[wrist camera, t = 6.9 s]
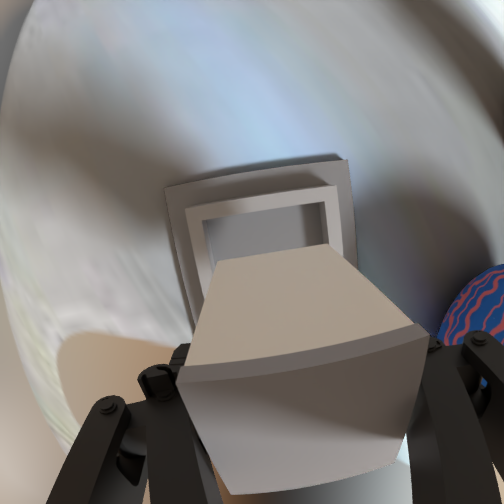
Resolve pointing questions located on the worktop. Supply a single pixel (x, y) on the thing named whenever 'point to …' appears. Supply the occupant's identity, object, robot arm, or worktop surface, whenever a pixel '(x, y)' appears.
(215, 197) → the socket plate
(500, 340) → the ceramic pot
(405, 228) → the worktop surface
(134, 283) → the worktop surface
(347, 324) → the plug block
